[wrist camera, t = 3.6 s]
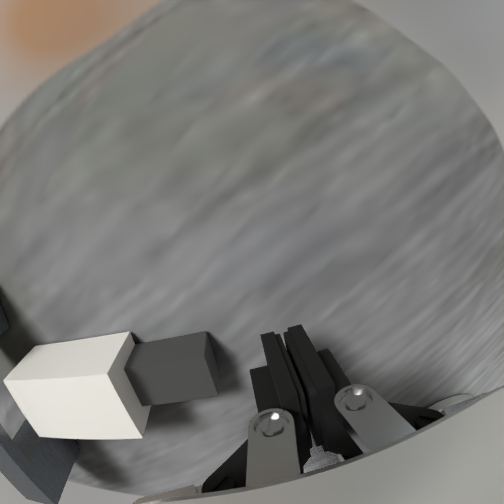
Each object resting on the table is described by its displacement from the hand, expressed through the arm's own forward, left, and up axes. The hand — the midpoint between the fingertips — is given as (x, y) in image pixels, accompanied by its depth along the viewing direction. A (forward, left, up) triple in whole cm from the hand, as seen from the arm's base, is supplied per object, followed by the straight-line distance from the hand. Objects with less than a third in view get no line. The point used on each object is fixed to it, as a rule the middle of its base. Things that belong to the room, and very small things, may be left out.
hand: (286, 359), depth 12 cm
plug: (+7, +5, -4) cm, 10 cm away
